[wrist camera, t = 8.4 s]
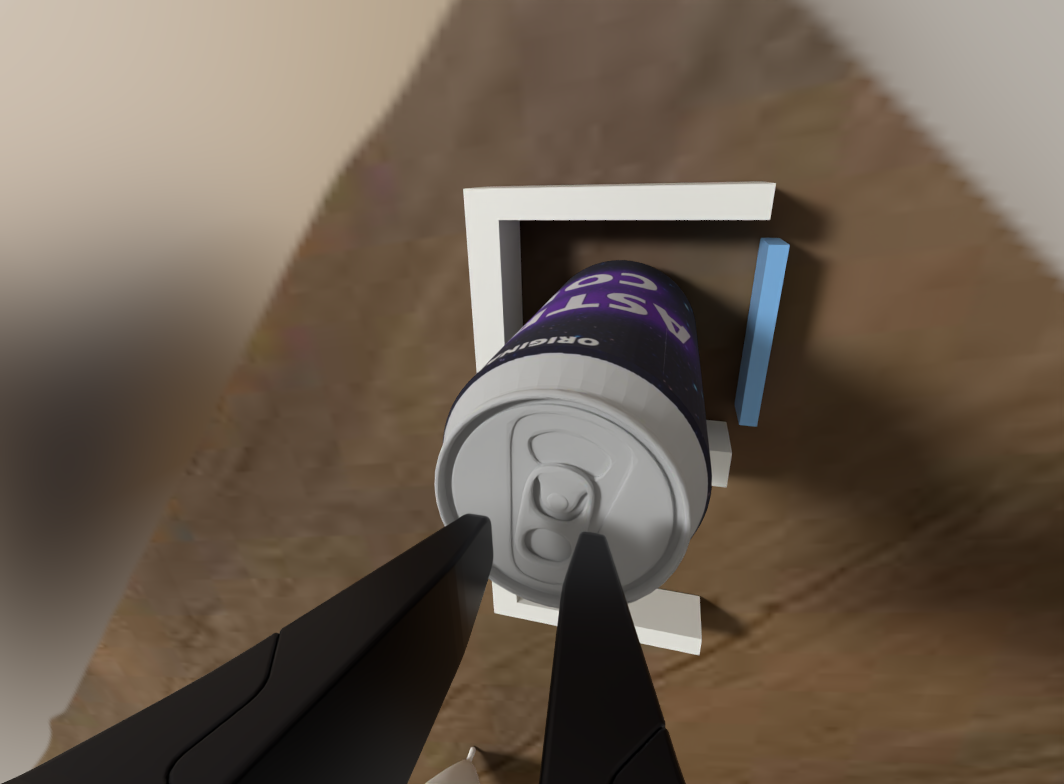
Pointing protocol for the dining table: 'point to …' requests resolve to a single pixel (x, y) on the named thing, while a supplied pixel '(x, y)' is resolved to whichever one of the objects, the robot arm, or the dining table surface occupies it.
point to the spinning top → (458, 772)
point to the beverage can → (586, 435)
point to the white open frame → (501, 317)
